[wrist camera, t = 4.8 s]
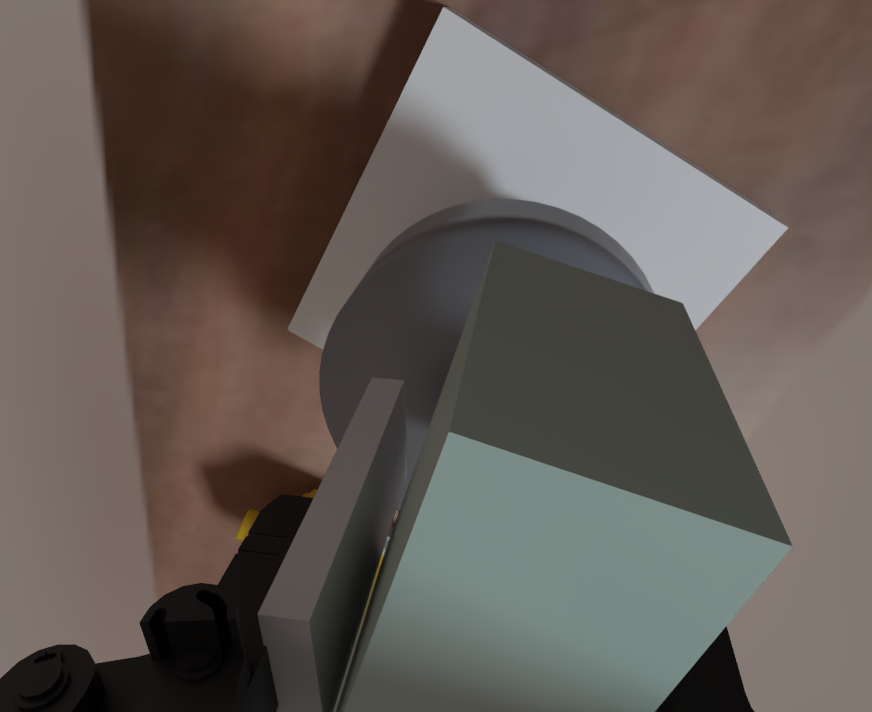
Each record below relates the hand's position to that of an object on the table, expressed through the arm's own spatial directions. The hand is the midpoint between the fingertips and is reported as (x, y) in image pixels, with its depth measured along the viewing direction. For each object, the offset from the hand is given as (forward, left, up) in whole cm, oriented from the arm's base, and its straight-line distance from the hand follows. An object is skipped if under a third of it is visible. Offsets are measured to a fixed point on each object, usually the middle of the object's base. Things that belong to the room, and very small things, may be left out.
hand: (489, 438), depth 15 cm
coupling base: (0, 0, -11) cm, 11 cm away
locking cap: (0, 0, -4) cm, 4 cm away
